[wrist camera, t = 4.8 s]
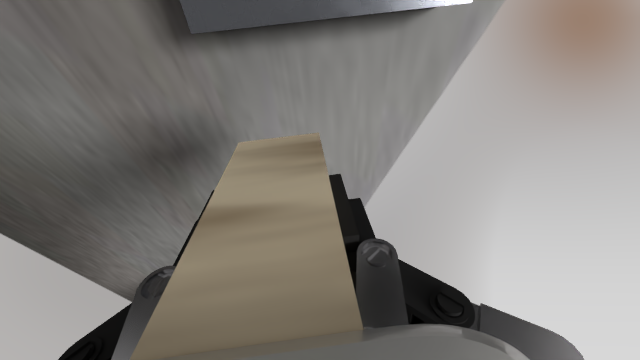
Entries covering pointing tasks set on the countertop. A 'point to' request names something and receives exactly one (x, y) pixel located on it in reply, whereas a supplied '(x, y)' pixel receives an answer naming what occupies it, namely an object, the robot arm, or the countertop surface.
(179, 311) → the peg
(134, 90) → the countertop surface
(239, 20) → the rail
